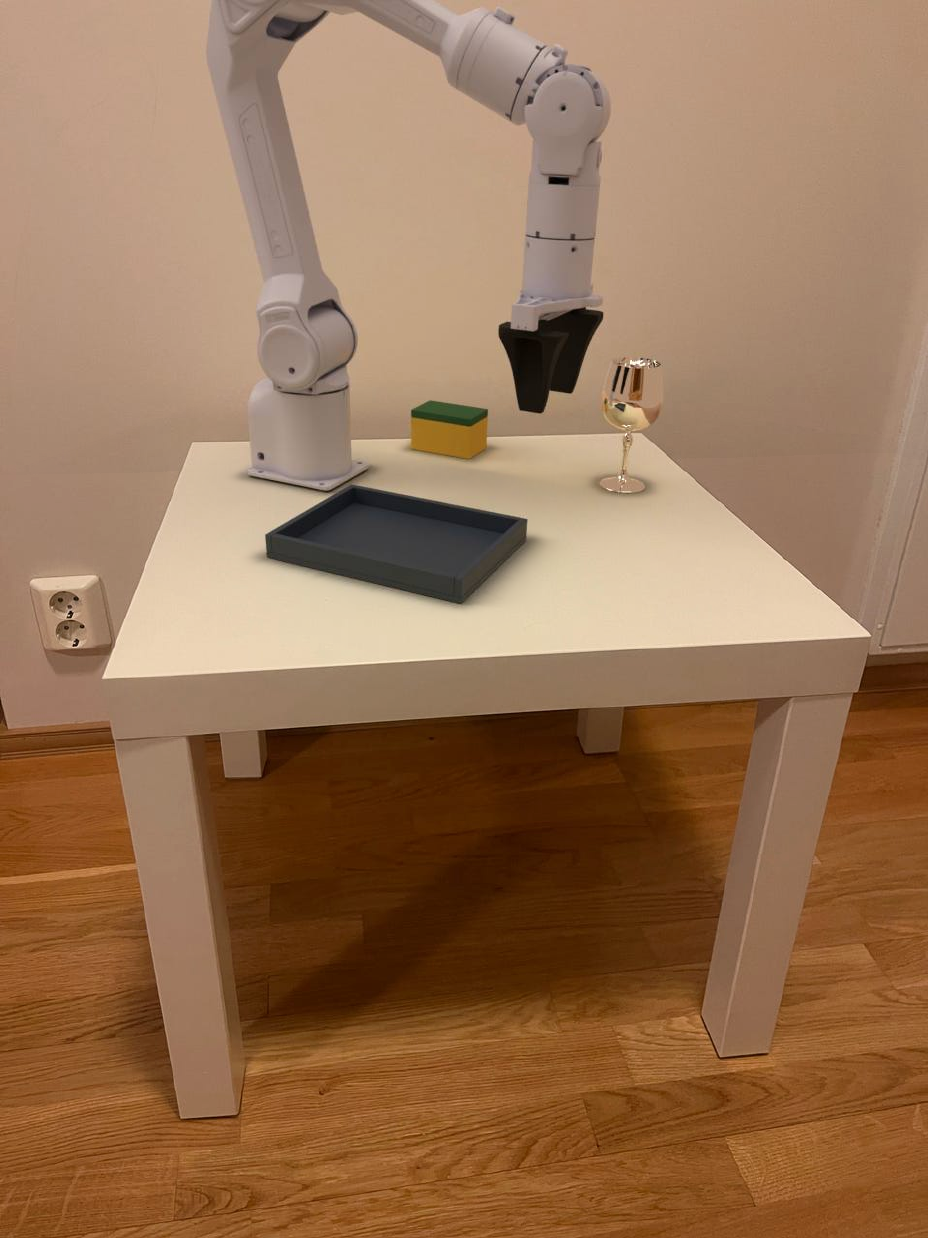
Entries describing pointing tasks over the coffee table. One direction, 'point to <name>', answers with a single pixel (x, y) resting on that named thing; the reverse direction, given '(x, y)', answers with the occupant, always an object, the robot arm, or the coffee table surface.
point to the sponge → (449, 429)
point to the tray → (399, 541)
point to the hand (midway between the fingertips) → (547, 401)
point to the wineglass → (631, 408)
